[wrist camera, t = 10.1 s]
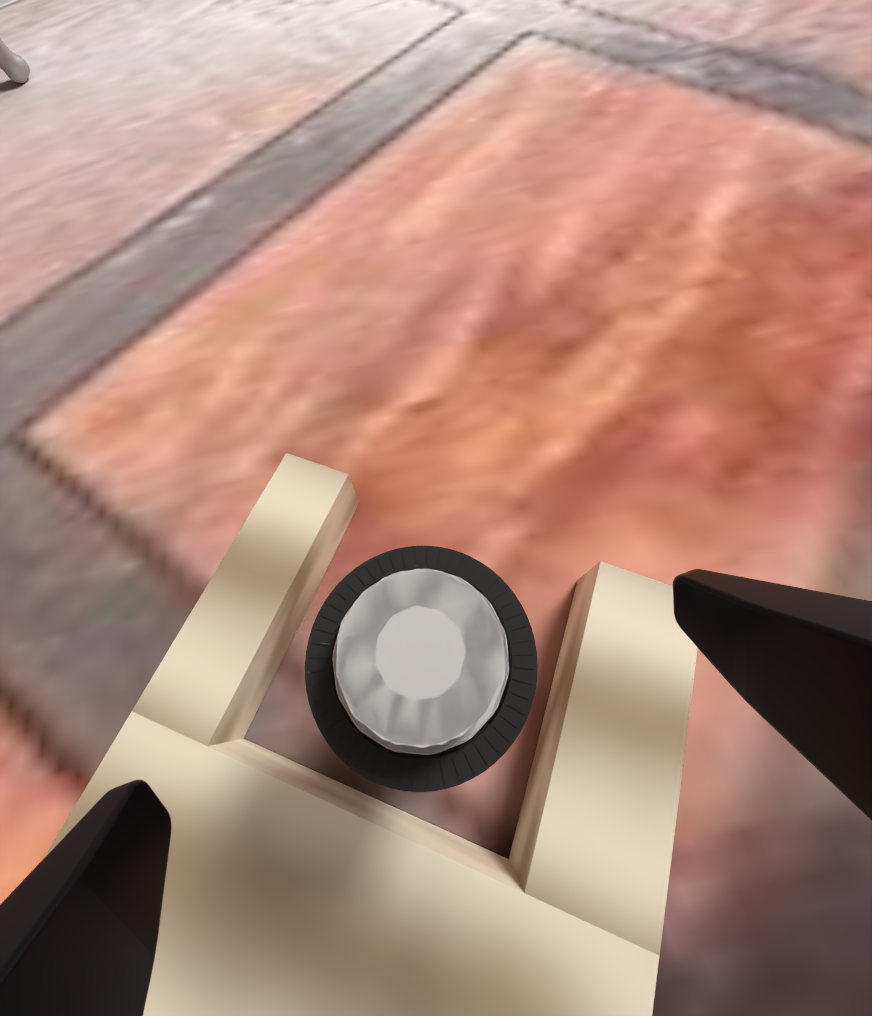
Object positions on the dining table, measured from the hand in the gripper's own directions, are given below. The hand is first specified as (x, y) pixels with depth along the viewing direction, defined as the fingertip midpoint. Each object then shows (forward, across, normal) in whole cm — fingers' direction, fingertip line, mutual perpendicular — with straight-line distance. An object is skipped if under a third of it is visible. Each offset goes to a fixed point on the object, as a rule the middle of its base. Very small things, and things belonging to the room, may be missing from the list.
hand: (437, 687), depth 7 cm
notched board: (+8, +2, +9) cm, 12 cm away
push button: (+10, 0, +7) cm, 12 cm away
